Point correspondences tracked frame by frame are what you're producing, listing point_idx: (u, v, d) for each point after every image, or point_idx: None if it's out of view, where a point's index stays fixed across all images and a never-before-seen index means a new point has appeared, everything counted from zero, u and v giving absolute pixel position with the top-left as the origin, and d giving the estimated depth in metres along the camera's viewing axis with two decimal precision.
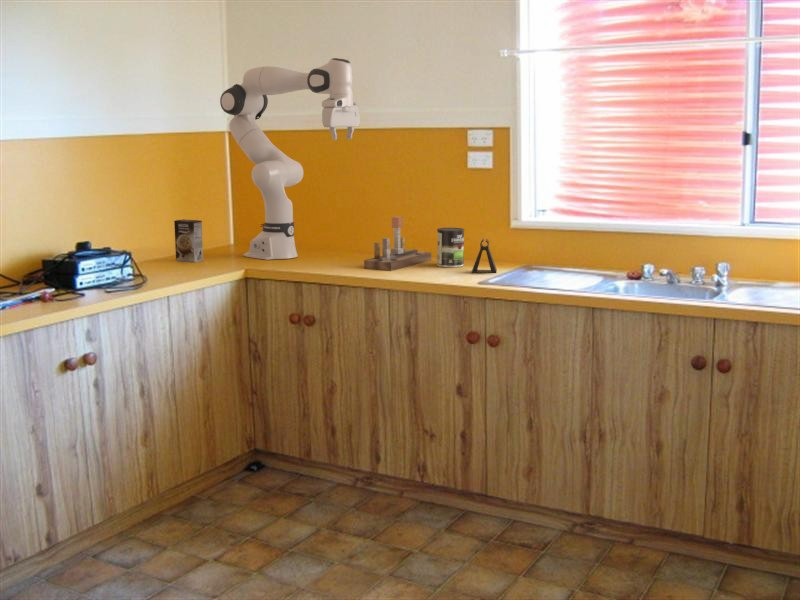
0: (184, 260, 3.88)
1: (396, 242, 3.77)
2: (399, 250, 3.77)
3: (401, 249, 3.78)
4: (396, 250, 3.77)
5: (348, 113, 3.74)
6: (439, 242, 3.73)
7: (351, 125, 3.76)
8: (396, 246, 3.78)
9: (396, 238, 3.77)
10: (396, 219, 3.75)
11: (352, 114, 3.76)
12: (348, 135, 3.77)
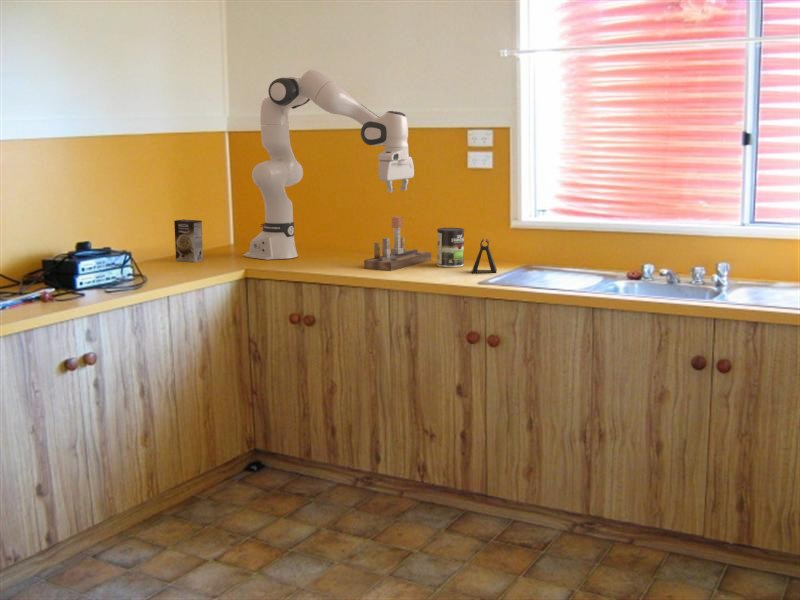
0: (184, 260, 3.88)
1: (396, 242, 3.77)
2: (399, 250, 3.77)
3: (401, 249, 3.78)
4: (396, 250, 3.77)
5: (403, 165, 3.74)
6: (439, 242, 3.73)
7: (406, 177, 3.76)
8: (396, 246, 3.78)
9: (396, 238, 3.77)
10: (396, 219, 3.75)
11: (407, 166, 3.76)
12: (403, 187, 3.77)
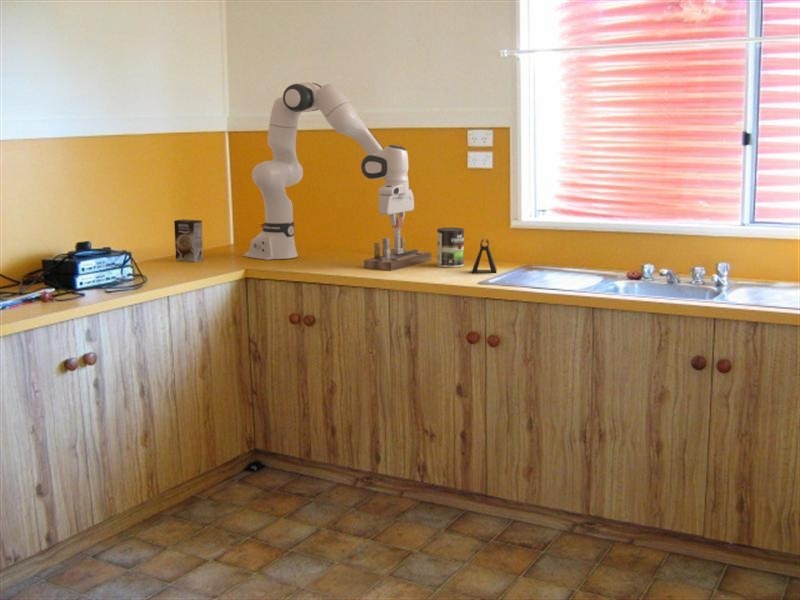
0: (184, 260, 3.88)
1: (396, 242, 3.77)
2: (399, 250, 3.77)
3: (401, 249, 3.78)
4: (396, 250, 3.77)
5: (403, 199, 3.76)
6: (439, 242, 3.73)
7: (406, 210, 3.78)
8: (396, 246, 3.78)
9: (396, 238, 3.77)
10: (396, 219, 3.75)
11: (407, 199, 3.78)
12: None
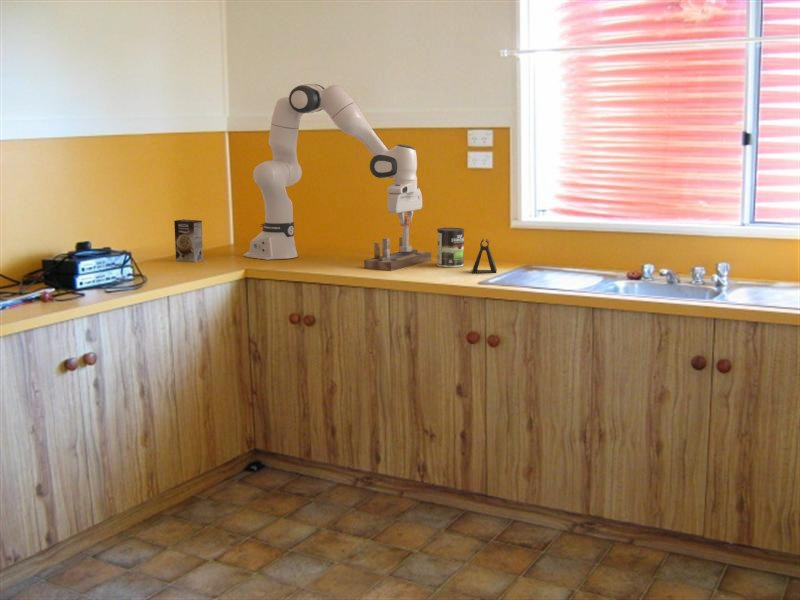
0: (184, 260, 3.88)
1: (404, 240, 3.82)
2: (407, 248, 3.82)
3: (409, 247, 3.83)
4: (405, 248, 3.82)
5: (412, 197, 3.81)
6: (439, 242, 3.73)
7: (414, 209, 3.83)
8: (404, 244, 3.83)
9: (404, 236, 3.82)
10: (405, 217, 3.80)
11: (415, 198, 3.84)
12: None
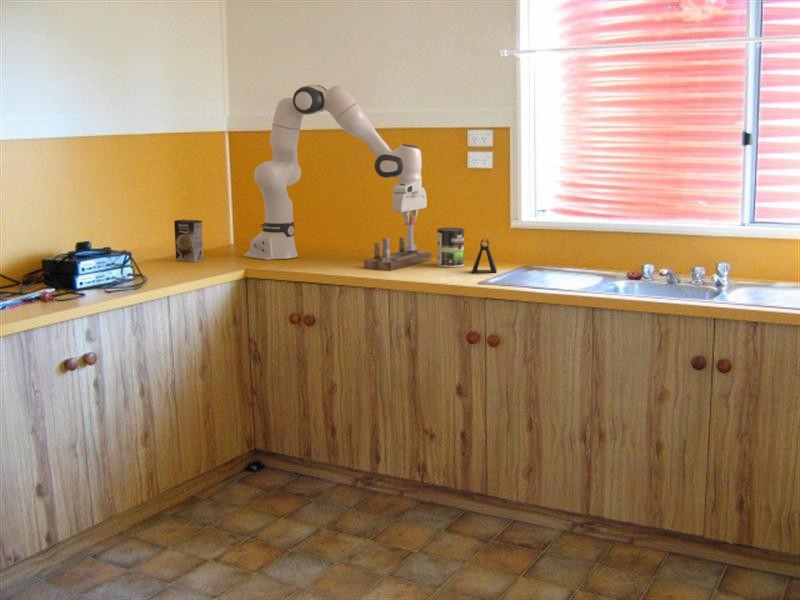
0: (184, 260, 3.88)
1: (409, 239, 3.85)
2: (412, 247, 3.85)
3: (414, 246, 3.86)
4: (409, 247, 3.85)
5: (416, 197, 3.84)
6: (439, 242, 3.73)
7: (419, 208, 3.86)
8: (409, 243, 3.86)
9: (409, 235, 3.85)
10: (409, 217, 3.83)
11: (420, 197, 3.87)
12: None
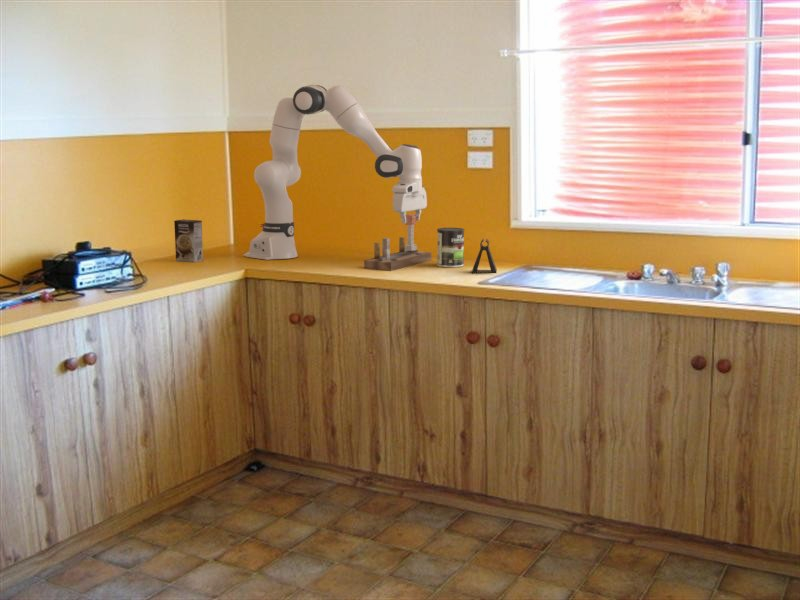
0: (184, 260, 3.88)
1: (409, 239, 3.86)
2: (412, 247, 3.85)
3: (414, 246, 3.87)
4: (409, 247, 3.85)
5: (417, 197, 3.84)
6: (439, 242, 3.73)
7: (419, 208, 3.87)
8: (409, 243, 3.86)
9: (409, 235, 3.85)
10: (410, 216, 3.83)
11: (420, 197, 3.87)
12: (416, 217, 3.88)
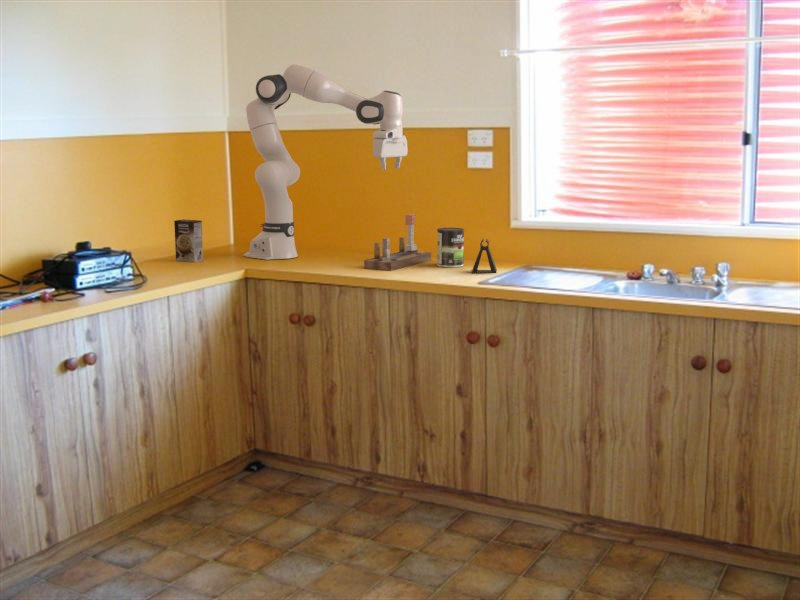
0: (184, 260, 3.88)
1: (409, 239, 3.86)
2: (412, 247, 3.85)
3: (414, 246, 3.87)
4: (409, 247, 3.85)
5: (397, 144, 3.87)
6: (439, 242, 3.73)
7: (399, 155, 3.89)
8: (409, 243, 3.86)
9: (409, 235, 3.85)
10: (410, 216, 3.83)
11: (401, 144, 3.89)
12: (396, 164, 3.91)
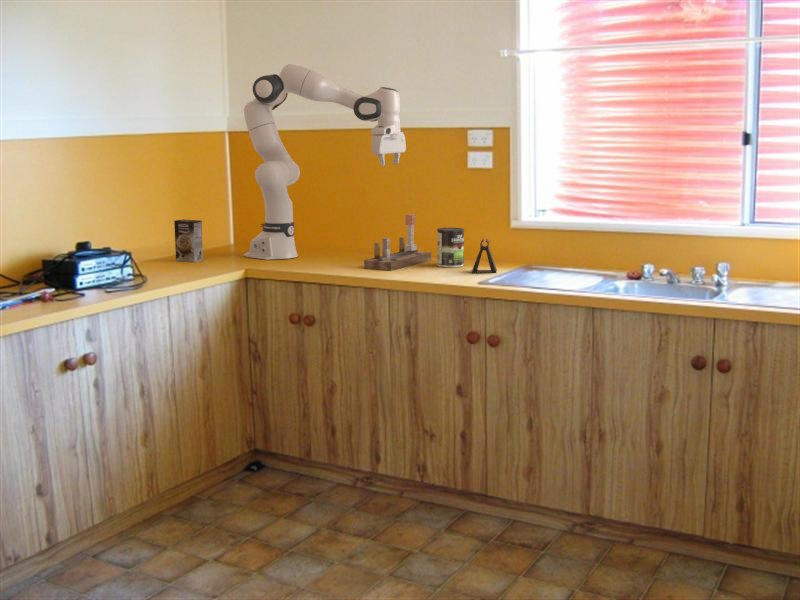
0: (184, 260, 3.88)
1: (409, 239, 3.86)
2: (412, 247, 3.85)
3: (414, 246, 3.87)
4: (409, 247, 3.85)
5: (395, 140, 3.88)
6: (439, 242, 3.73)
7: (398, 151, 3.90)
8: (409, 243, 3.86)
9: (409, 235, 3.85)
10: (410, 216, 3.83)
11: (399, 141, 3.90)
12: (395, 161, 3.91)
